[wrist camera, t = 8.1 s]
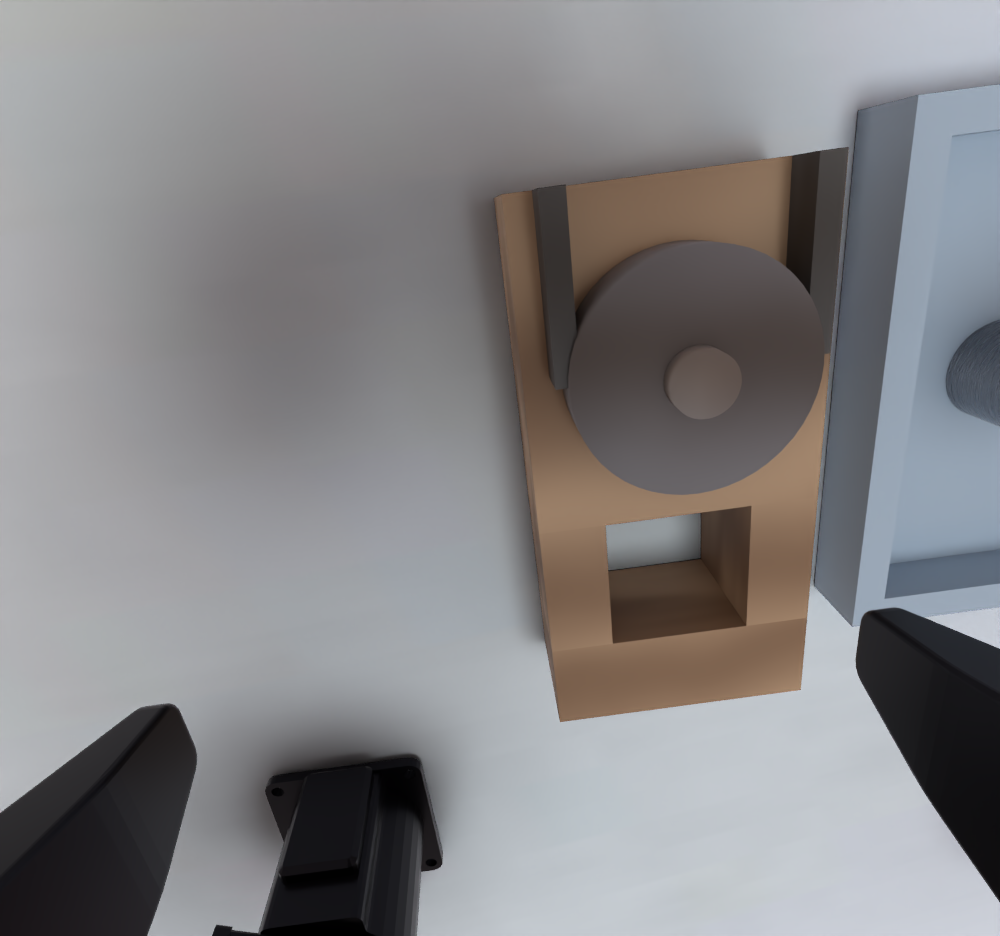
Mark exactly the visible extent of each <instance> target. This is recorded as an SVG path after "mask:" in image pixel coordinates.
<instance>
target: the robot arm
mask: <svg viewBox="0 0 1000 936" xmlns="http://www.w3.org/2000/svg"><path fill="white" fill-rule="evenodd" d="M856 669H857V673H858V676H859V678H860V680H861V682H862V684H863V686H864V688H865V690H866V691H867V693H868V695H869V697H870V698H871V700H872V702H873V704H874V706H875V707H876V709H877V711H878V713H879V714H880V716H881V718H882V720H883V722H884V723H885V725H886V727H887V729H888V730H889V732H890V734H891V736H892V738H893V739H894V741H895V743H896V745H897V746H898V748H899V750H900V752H901V754H902V755H903V757H904V759H905V761H906V762H907V764H908V766H909V768H910V770H911V771H912V773H913V775H914V776H915V778H916V780H917V781H918V783H919V785H920V786H921V788H922V790H923V791H924V793H925V794H926V796H927V797H928V799H929V800H930V802H931V803H932V805H933V806H934V808H935V809H936V811H937V812H938V814H939V815H940V817H941V818H942V820H943V821H944V823H945V824H946V825H947V827H948V828H949V830H950V831H951V833H952V834H953V835H954V837H955V838H956V840H957V841H958V843H959V844H960V846H961V847H962V848H963V850H964V851H965V853H966V854H967V856H968V857H969V859H970V860H971V861H972V863H973V864H974V866H975V867H976V869H977V870H978V872H979V873H980V874H981V876H982V877H983V879H984V880H985V882H986V883H987V884H988V886H989V887H990V889H991V890H992V892H993V893H994V895H995V896H996V897H997V899H998V900H999V902H1000V649H999V648H996V647H994V646H991V645H989V644H986V643H984V642H982V641H979V640H977V639H974V638H972V637H970V636H967V635H965V634H962V633H960V632H957V631H955V630H953V629H950V628H948V627H945V626H943V625H941V624H938V623H936V622H933V621H931V620H928V619H926V618H924V617H921V616H919V615H916V614H914V613H912V612H909V611H907V610H904V609H902V608H897V607H892V608H884V609H877V610H870V611H868V612H866V613H865V614H864V615H863V616H862V619H861V623H860V631H859V638H858V646H857V653H856ZM196 765H197V753H196V749H195V746H194V743H193V741H192V738H191V736H190V734H189V731H188V729H187V727H186V724H185V722H184V720H183V717H182V715H181V713H180V711H179V709H178V708H177V707H176V706H175V705H173V704H160V705H152V706H145V707H142V708H139V709H137V710H136V711H134V712H133V713H132V714H130V715H129V716H128V717H126V718H125V719H124V720H122V721H121V722H120V723H119V724H117V725H116V726H115V727H113V728H112V729H111V730H109V731H108V732H107V733H105V734H104V735H103V736H101V737H100V738H99V739H97V740H96V741H95V742H93V743H92V744H91V745H89V746H88V747H87V748H85V749H84V750H83V751H82V752H80V753H79V754H78V755H76V756H75V757H74V758H72V759H71V760H70V761H68V762H67V763H66V764H64V765H63V766H62V767H60V768H59V769H58V770H56V771H55V772H54V773H52V774H51V775H50V776H48V777H47V778H46V779H44V780H43V781H42V782H41V783H39V784H38V785H37V786H35V787H34V788H33V789H31V790H30V791H29V792H27V793H26V794H25V795H23V796H22V797H21V798H19V799H18V800H17V801H15V802H14V803H13V804H11V805H10V806H9V807H7V808H6V809H5V810H4V811H2V812H1V813H0V936H147V934H148V932H149V929H150V926H151V924H152V921H153V918H154V915H155V912H156V910H157V907H158V904H159V901H160V898H161V895H162V892H163V889H164V885H165V882H166V879H167V875H168V872H169V868H170V864H171V861H172V857H173V853H174V849H175V846H176V842H177V838H178V834H179V831H180V827H181V823H182V819H183V816H184V812H185V808H186V804H187V801H188V797H189V793H190V789H191V785H192V782H193V778H194V774H195V770H196ZM408 770H412V771H408ZM265 792H266V796H267V799H268V801H269V804H270V806H271V809H272V812H273V814H274V817H275V819H276V822H277V825H278V827H279V830H280V833H281V835H282V838H283V840H284V845H283V848H282V852H281V855H280V859H279V862H278V866H277V869H276V873H275V876H274V880H273V883H272V887H271V890H270V893H269V897H268V900H267V904H266V907H265V911H264V914H263V918H262V921H261V925H260V928H259V932H258V933H251V932H243V931H235V930H232V927H230V926H223V925H216V927H215V929H214V932H213V935H212V936H417V925H418V910H419V895H420V880H421V872H422V871H430V870H435V869H438V868H439V867H441V865H442V857H443V852H442V848H441V843H440V839H439V835H438V831H437V827H436V822H435V818H434V814H433V810H432V805H431V801H430V797H429V793H428V788H427V784H426V780H425V776H424V771H423V767H422V764H421V762H420V761H419V760H417V759H415V758H402V759H395V760H388V761H380V762H373V763H365V764H358V765H350V766H343V767H335V768H328V769H320V770H313V771H305V772H298V773H290V774H283V775H276V776H273V777H272V778H270V779H269V781H268V784H267V787H266V790H265Z"/></svg>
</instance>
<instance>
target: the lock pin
mask: <svg viewBox="0 0 1000 936" xmlns="http://www.w3.org/2000/svg"><path fill="white" fill-rule="evenodd" d="M946 390H947V394H948V397H949V399H950V401H951V403H952V404H953V405H954V406H955V407H956V408H957V409H958V410H960V411H962V412H964V413H966V414H969V415H971V416H974V417H976V418H979V419H981V420H984V421H986V422H989V423H991V424H994V425H996V426H999V427H1000V320H997V321H994V322H991V323H989V324H986V325H984V326H983V327H981V328H979V329H978V330H976V331H975V332H973V333H972V334H971V335H970V336H969V337H968V338H966V340H965V341H964V342H963V343H962V344H961V345H960V346H959V348H958V349H957V350H956V352H955V354H954V355H953V357H952V359H951V361H950V364H949V367H948V370H947V374H946Z"/></svg>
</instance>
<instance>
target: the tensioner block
mask: <svg viewBox="0 0 1000 936" xmlns="http://www.w3.org/2000/svg"><path fill="white" fill-rule="evenodd" d="M848 150H849V147H845V148H837V149H830V150H822V151H816V152H810V153H805V154H799V155H793V156H786V157H778V158H771V159H763V160H756V161H748V162H741V163H733V164H726V165H718V166H711V167H703V168H696V169H688V170H681V171H673V172H666V173H658V174H651V175H643V176H636V177H628V178H621V179H613V180H606V181H598V182H591V183H583V184H576V185H568V186H566V185H559V186H552V187H544V188H537V189H534V190H530V191H523V192H515V193H508V194H501V195H499V196H497V197H495V198H494V203H495V211H496V220H497V229H498V237H499V246H500V255H501V263H502V272H503V281H504V289H505V298H506V306H507V315H508V324H509V332H510V341H511V350H512V358H513V367H514V376H515V384H516V393H517V402H518V410H519V419H520V428H521V436H522V445H523V453H524V462H525V471H526V479H527V488H528V497H529V505H530V514H531V523H532V531H533V540H534V549H535V557H536V566H537V574H538V583H539V592H540V600H541V609H542V618H543V626H544V635H545V643H546V649H547V654H548V660H549V665H550V670H551V676H552V681H553V687H554V692H555V697H556V703H557V708H558V714H559V719H560V722H564V721H571V720H579V719H586V718H594V717H601V716H609V715H616V714H624V713H631V712H639V711H646V710H654V709H661V708H668V707H676V706H683V705H691V704H698V703H706V702H713V701H721V700H728V699H736V698H743V697H751V696H758V695H766V694H773V693H781V692H788V691H796V690H801V679H802V668H803V657H804V646H805V634H806V623H807V612H808V600H809V589H810V578H811V567H812V555H813V544H814V533H815V522H816V510H817V499H818V488H819V477H820V465H821V454H822V443H823V432H824V420H825V409H826V398H827V387H828V375H829V364H830V353H831V342H832V330H833V319H834V308H835V297H836V285H837V274H838V263H839V252H840V240H841V229H842V218H843V207H844V195H845V184H846V173H847V162H848ZM694 513H701V559H697V560H689V561H682V562H674V563H667V564H659V565H652V566H644V567H637V568H629V569H622V570H614V571H608V559H607V543H606V527H605V525H612V524H620V523H627V522H635V521H642V520H650V519H657V518H664V517H672V516H679V515H687V514H694Z"/></svg>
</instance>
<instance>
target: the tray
mask: <svg viewBox="0 0 1000 936" xmlns="http://www.w3.org/2000/svg"><path fill="white" fill-rule="evenodd" d="M997 320H1000V84H997V85H990V86H982V87H975V88H967V89H960V90H952V91H945V92H937V93H930V94H922V95H917V96H913V97H909V98H905V99H901V100H897V101H894V102H890V103H886V104H882V105H878V106H874V107H871V108H867V109H863V110H859V111H858V118H857V129H856V140H855V151H854V162H853V173H852V183H851V194H850V205H849V216H848V227H847V238H846V248H845V259H844V270H843V281H842V292H841V303H840V313H839V324H838V335H837V346H836V357H835V368H834V378H833V389H832V400H831V411H830V422H829V433H828V443H827V454H826V465H825V476H824V487H823V498H822V508H821V519H820V530H819V541H818V552H817V563H816V573H815V584H814V586H815V587H816V588H817V590H818V591H819V592H820V593H821V594H822V595H823V596H824V597H825V598H826V599H827V600H828V601H829V602H830V603H831V605H832V606H833V607H834V608H835V609H836V610H837V611H838V612H839V613H840V614H841V615H842V616H843V617H844V618H845V620H846V621H847V622H848V623H849V624H850V625H851V626H852V627H854V626H860V623H861V619H862V616H863V615H864V614H865V613H866V612H868V611H870V610H877V609H884V608H892V607H897V608H902V609H904V610H907V611H909V612H912V613H914V614H916V615H919V616H921V617H929V616H937V615H944V614H952V613H959V612H967V611H974V610H981V609H989V608H996V607H1000V427H999V426H996V425H994V424H991V423H989V422H986V421H984V420H981V419H979V418H976V417H974V416H971V415H969V414H966V413H964V412H962V411H960V410H958V409H957V408H956V407H955V406H954V405H953V404H952V403H951V401H950V399H949V397H948V394H947V390H946V374H947V370H948V367H949V364H950V361H951V359H952V357H953V355H954V354H955V352H956V350H957V349H958V348H959V346H960V345H961V344H962V343H963V342H964V341H965V340H966V338H968V337H969V336H970V335H971V334H972V333H973V332H975V331H976V330H978V329H979V328H981V327H983V326H984V325H986V324H989V323H991V322H994V321H997Z"/></svg>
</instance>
